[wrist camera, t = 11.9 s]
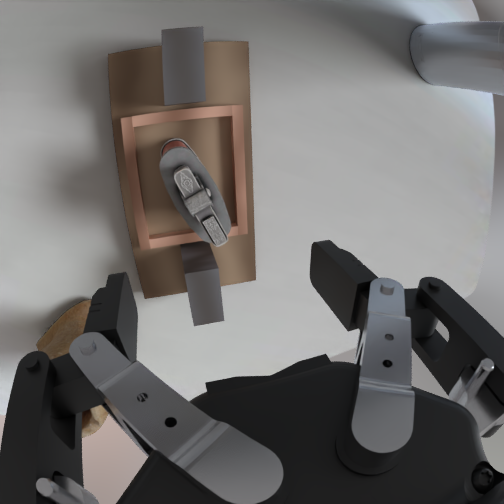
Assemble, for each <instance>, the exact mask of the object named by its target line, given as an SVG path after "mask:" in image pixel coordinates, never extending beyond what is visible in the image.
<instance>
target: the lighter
mask: <svg viewBox="0 0 504 504" xmlns="http://www.w3.org/2000/svg"><path fill="white" fill-rule="evenodd" d="M160 153H161V160H160V165H159V166H160V172H161V175H162V178H163V181H164V183H165V186H166V189H167V191H168V193H169V195H170V197H171V199H172V201H173V203H174V205H175V207H176V209H177V210H178V212H179V213H180V215H181V216H182V217H183V219H184V220H185V221H186V223H187V224H188V225H189V227H190V228H191V229H192V230H193V231H194V232H195V233H196V234H197V235H198V236H199V237H200V238H201V239H202V240H203V241H205V242H208V243H212V244H213V245H214V246H216V247H219V246H222V245H223V244H225V243H226V242H227V241H228V236H227V235H228V234H229V232H230V230H231V221H230V218H229V215H228V211H227V208H226V205H225V203H224V200H223V198H222V196H221V194H220V191H219V189H218V187H217V185H216V184H215V182H214V180H213V179H212V177H211V176H210V174H209V173H208V171H207V170H206V168H205V167H204V165H203V164H202V163H201V161H200V160H199V158H198V157H197V155H196V154H195V152H194V151H193V150H192V149H191V148H190V146H189V145H188V144H187V143H186V142H185V141H184V140H183V139H181V138H172V139H169V140H168V141H166V142H165V143H164V144H163V146H162V148H161V152H160Z"/></svg>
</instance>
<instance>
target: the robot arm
mask: <svg viewBox="0 0 504 504" xmlns="http://www.w3.org/2000/svg"><path fill="white" fill-rule="evenodd" d="M410 51H411V56H412V60H413V63H414V65H415V67H416V69H417V71H418V73H419V74H420V75H421V77H422V78H423V79H424V80H425V81H427V82H428V83H430V84H432V85H437V86H447V87H455V88H462V89H470V90H476V91H483V92H488V93H494V94H499V95H504V22H494V21H493V22H492V21H490V22H489V21H488V22H487V21H475V22H451V23H438V24H428V25H420V26H418V27H416V29H415V30H414V31H413V33H412V35H411V40H410ZM310 279H311V283H312V285H313V287H314V288H315V289H316V291H317V292H318V293H319V294H320V296H321V297H322V298H323V300H324V301H325V302H326V303H327V305H328V306H329V307H330V309H331V310H332V311H333V312H334V314H335V315H336V316H337V318H338V319H339V320H340V322H341V323H342V324H343V325H344V327H345V328H346V329H347V331H351V330H355V329H358V328H359V330H360V333H359V337H358V343H357V349H356V354H355V359H354V363H349V362H331V361H330V360H329V358H328V356H327V355H326V354H324V355H320V356H317V357H313V358H310V359H306V360H303V361H299V362H297V363H295V364H293V365H291V366H289V367H287V368H285V369H283V370H281V371H279V372H277V373H275V374H273V375H270V376H242V377H232V378H227V379H222V380H217V381H212V382H206V383H205V384H206V388H207V392H205V393H203V394H201V395H199V396H197V397H195V398H194V399H192V400H191V401H187V400H186V399H185V398H183V397H182V396H181V395H180V394H178V393H177V392H176V391H174V390H173V389H172V388H171V387H169V386H168V385H167V384H166V383H164V382H163V381H162V380H161V379H159V378H158V377H157V376H156V375H155V374H153V373H152V372H151V371H150V370H149V369H147V368H146V367H145V366H144V365H143V364H142V363H140V362H139V361H136V354H137V323H138V313H137V307H136V302H135V299H134V296H133V292H132V289H131V285H130V282H129V278H128V275H127V273H126V272H123V273H117V274H110V275H109V276H108V280H107V284H106V287H104V288H99V289H98V290H97V291H96V293H95V294H94V295H93V296H92V300H91V304H90V305H91V306H90V307H89V313H88V315H87V319H86V323H85V327H84V331H83V334H82V335H80V336H79V337H77V338H76V339H75V340H74V341H73V342H72V343H71V345H70V348H69V353H67V354H65V355H62V356H59V357H57V358H54V359H51V360H50V358H49V356H48V355H47V354H46V353H45V352H43V351H34V352H31V353H29V354H27V355H26V356H24V357H23V358H22V359H21V361H20V362H19V364H18V367H17V370H16V374H15V378H14V382H13V386H12V390H11V394H10V399H9V403H8V408H7V413H6V418H5V424H4V430H3V436H2V443H1V450H0V504H99V503H98V500H97V499H96V497H95V496H94V495H93V494H91V493H90V492H89V491H87V490H86V489H84V487H83V486H84V485H83V469H82V412H83V411H86V410H89V409H91V408H94V407H97V406H99V405H101V406H102V407H103V408H104V409H105V410H106V412H107V413H108V414H109V415H110V416H111V417H112V418H113V420H114V421H115V422H116V423H117V424H118V425H119V426H120V427H121V428H122V429H123V431H125V433H126V434H127V435H128V436H129V437H130V438H131V439H132V440H133V441H134V443H135V444H136V445H137V446H138V447H139V448H140V449H141V450H142V451H143V452H144V453H145V454H146V455H147V456H148V458H147V460H146V461H145V463H144V464H143V466H142V467H141V469H140V470H139V472H138V473H137V474H136V476H135V477H134V479H133V480H132V482H131V483H130V485H129V486H128V488H127V489H126V490H125V492H124V493H123V495H122V496H121V497H120V499H119V500H118V502H117V503H116V504H504V474H503V473H500V472H498V471H496V470H495V469H494V468H493V467H492V466H491V465H490V464H489V462H488V460H487V458H486V456H485V453H484V450H483V447H482V443H481V438H480V437H490V436H492V435H493V434H494V433H495V432H496V431H497V430H498V429H499V428H500V427H501V426H502V425H503V424H504V338H503V337H502V336H501V335H500V334H499V333H498V332H497V331H496V330H495V329H494V328H493V327H492V326H491V325H490V324H489V323H488V322H487V321H486V320H485V319H484V318H483V317H482V316H481V315H480V314H479V313H478V312H477V311H476V310H475V309H474V308H473V307H472V306H470V305H469V304H468V303H467V302H466V301H465V300H464V299H463V298H462V297H461V296H460V295H458V294H457V293H456V292H455V291H454V290H453V289H452V288H451V287H450V286H448V285H447V284H446V283H445V282H444V281H442V280H440V279H438V278H434V277H424V278H422V279H421V280H420V282H419V286H418V288H415V289H404V288H403V286H402V285H401V284H400V283H399V282H397V281H395V280H393V279H390V278H378V277H377V276H376V275H375V274H374V273H373V272H371V271H370V270H369V269H368V268H367V267H366V266H365V265H363V263H362V262H360V261H359V260H358V259H357V258H356V257H355V256H354V255H353V254H351V253H350V252H348V251H345V250H343V249H339V248H338V247H337V246H336V245H335V244H334V243H333V242H332V241H330V240H325V241H319V242H314V243H313V244H312V248H311V262H310ZM438 320H440V321H441V322H442V323H443V324H444V326H445V327H446V328H447V329H448V331H449V341H448V342H447V341H446V340H445V339H444V338H443V337H442V336H441V335H440V333H439V332H438V331H437V330H436V329H435V328H436V325H437V323H438ZM412 349H413V350H414V351H415V353H416V354H417V355H418V356H419V358H420V359H421V360H422V362H423V363H424V364H425V365H426V367H427V368H428V369H429V371H430V372H431V373H432V375H433V376H434V377H435V378H436V380H437V381H438V382H439V384H440V385H441V386H442V388H443V389H444V391H445V392H446V393H447V395H448V396H449V399H446V398H443V397H440V396H437V395H435V394H432V393H429V392H426V391H424V390H421V389H418V388H416V387H413V386H411V381H412V380H411V379H412Z"/></svg>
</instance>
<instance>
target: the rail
mask: <svg viewBox="0 0 504 504" xmlns="http://www.w3.org/2000/svg"><path fill="white" fill-rule="evenodd" d="M108 69H109V89H110V103H111V115H112V125H113V135H114V144H115V152H116V159H117V166H118V173H119V180H120V186H121V192H122V198H123V204H124V209H125V215H126V220H127V225H128V230H129V235H130V239H131V244H132V248H133V253H134V257H135V262H136V266H137V270H138V274H139V278H140V282H141V286H142V290H143V293H144V297H145V299H147V298H154V297H160V296H166V295H172V294H178V293H184V292H188V296H189V302H190V307H191V313H192V318H193V323H194V326H197V325H203V324H209V323H214V322H220V321H224V315H223V306H222V296H221V287H220V286H225V285H231V284H237V283H242V282H248V281H253V280H256V267H255V233H254V200H253V168H252V137H251V107H250V77H249V48H248V42H247V41H225V42H203V27H189V28H176V29H165V30H162V46H155V47H147V48H141V49H134V50H128V51H123V52H117V53H112V54H108ZM172 138H181V139H183V140H184V141H185V142H186V143H187V144H188V145H189V146H190V148H191V149H192V150H193V151H194V152H195V154H196V155H197V157H198V158H199V160H200V161H201V163H202V164H203V165H204V167H205V168H206V170H207V171H208V173H209V174H210V176H211V177H212V179H213V180H214V182H215V184H216V185H217V187H218V189H219V191H220V194H221V196H222V198H223V200H224V203H225V205H226V208H227V211H228V215H229V218H230V221H231V230H230V232H229V234H228V235H227V236H228V241H227V242H226V243H225V244H223V245H222V246H219V247H216V246H214V245H213V244H212V243H208V242H205V241H203V240H202V239H201V238H200V237H199V236H198V235H197V234H196V233H195V232H194V231H193V230H192V229H191V228H190V227H189V225H188V224H187V223H186V221H185V220H184V219H183V217H182V216H181V215H180V213H179V212H178V210H177V209H176V207H175V205H174V203H173V201H172V199H171V197H170V195H169V193H168V191H167V189H166V186H165V183H164V181H163V178H162V175H161V172H160V166H159V165H160V160H161V153H160V152H161V148H162V146H163V144H164V143H165V142H166V141H168V140H169V139H172Z"/></svg>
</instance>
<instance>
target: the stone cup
mask: <svg viewBox="0 0 504 504" xmlns="http://www.w3.org/2000/svg"><path fill="white" fill-rule="evenodd" d="M90 304H91V300H85V301H82V302H80V303H78V304H76V305H75V306H73V307H72V308H70V309H69V310H67V311H66V312H65V313H64V314H63V315H62V316H61V317H60V318H59V319H58V320H57V321H56V322H55V323H54V324H53V325H52V326H51V327H50V328H49V330H48V331H47V332H46V333H45V334H44V335H43V337H42V338H41V339H40V340H39V341H38V342H37V344H36V345H37V349H38V351H43V352H45V353H46V354H47V355H48V356H49V358H50V360H51V359H54V358H57V357H59V356H62V355H65V354H67V353H69V348H70V345H71V343H72V342H73V341H74V340H75V339H76V338H77V337H79V336H80V335H82V334H83V331H84V327H85V323H86V319H87V315H88V313H89V307H90V306H91V305H90ZM107 416H108V413H107V412H106V410H105V409H104V408H103V407H102V406H101V405H99V406H97V407H94V408H91V409H89V410H86V411H83V412H82V438H83V437H86V436H89V435H91V434H93V433H95V432H96V431H97V430H98V429H99V428H100V427H101V426H102V424H103V423H104V421H105V420H106V418H107Z"/></svg>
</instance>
